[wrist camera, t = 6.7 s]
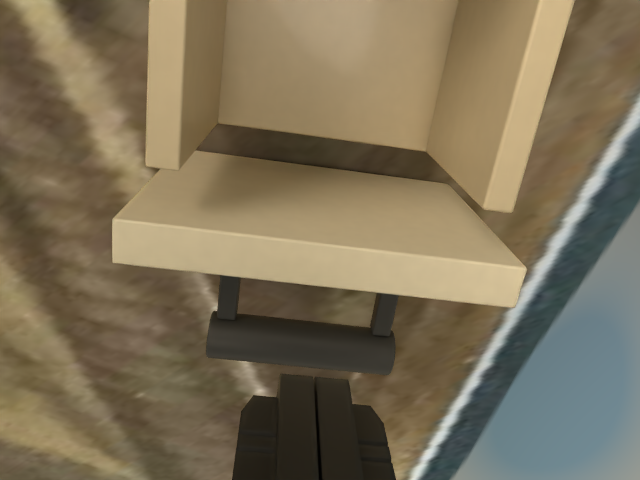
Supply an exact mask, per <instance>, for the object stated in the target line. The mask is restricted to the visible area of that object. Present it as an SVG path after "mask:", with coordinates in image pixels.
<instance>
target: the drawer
mask: <svg viewBox="0 0 640 480" xmlns="http://www.w3.org/2000/svg"><path fill="white" fill-rule="evenodd" d="M574 1H575V0H149V31H148V74H147V117H146V159H145V164H146V166H147V167H152V168H160V170H159V171H158V172H157V173H156V174H155V175H154V176H153V177H152V178H151V179H150V180H149V181H148V182H147V184H146V185H145V186H144V187H143V188H142V189H141V190H140V191H139V192H138V193H137V194H136V195H135V196H134V197H133V198H132V199H131V200H130V201H129V202H128V203H127V204H126V206H125V207H124V208H123V209H122V210H121V211H120V212H119V213H118V214H117V215H116V216H115V217H114V218H113V220H112V261H113V263H117V264H126V265H135V266H144V267H153V268H162V269H171V270H180V271H189V272H197V273H206V274H215V275H220V285H219V297H218V309H217V311H213V313H212V315H211V319H210V324H209V329H208V336H207V346H206V355H207V357H208V358H217V359H227V360H237V361H247V362H257V363H267V364H278V365H288V366H298V367H308V368H318V369H328V370H338V371H348V372H358V373H369V374H379V375H389V374H390V373H391V371H392V368H393V365H394V360H395V336H394V333H393V331H392V330H391V328H392V324H393V319H394V315H395V310H396V306H397V301H398V297H399V295H402V296H411V297H420V298H429V299H437V300H446V301H455V302H464V303H473V304H482V305H491V306H500V307H509V308H514V307H515V306H516V303H517V300H518V296H519V293H520V290H521V287H522V284H523V281H524V277H525V274H526V271H527V268H526V267H525V266H524V265H523V264H522V263H521V261H520V260H519V259H518V258H517V257H516V256H515V255H514V254H513V253H512V252H511V251H510V250H509V249H508V248H507V246H506V245H505V244H504V243H503V242H502V241H501V240H500V239H499V238H498V237H497V236H496V235H495V234H494V233H493V231H492V230H491V229H490V228H489V227H488V226H487V225H486V224H485V223H484V222H483V221H482V220H481V219H480V217H479V216H478V215H477V214H476V213H475V212H474V211H473V210H472V209H471V208H470V207H469V206H468V205H467V204H466V202H465V201H464V200H463V199H462V198H461V197H460V196H459V195H458V194H457V193H456V192H455V191H454V190H453V189H452V187H451V186H450V185H449V184H445V183H437V182H430V181H422V180H414V179H407V178H399V177H392V176H384V175H377V174H369V173H361V172H354V171H346V170H339V169H331V168H324V167H316V166H308V165H301V164H293V163H286V162H278V161H271V160H263V159H256V158H248V157H240V156H233V155H225V154H218V153H210V152H203V151H195V150H196V149H197V148H198V147H199V145H200V144H201V143H202V142H203V140H204V139H205V138H206V137H207V136H208V134H209V133H210V132H211V131H212V129H213V128H214V127H215V126H216V125H217V123H220V124H227V125H234V126H242V127H249V128H256V129H263V130H271V131H278V132H285V133H293V134H300V135H307V136H315V137H322V138H329V139H336V140H344V141H351V142H358V143H366V144H373V145H380V146H387V147H395V148H402V149H409V150H417V151H424V152H427V153H428V154H429V155H430V156H431V157H432V158H433V159H434V160H435V161H436V162H437V163H438V164H439V165H440V166H441V167H442V168H443V169H444V170H445V171H446V172H447V173H448V174H449V175H450V176H451V177H452V178H453V179H454V180H455V181H456V182H457V183H458V184H459V185H460V186H461V187H462V188H463V189H464V190H465V191H466V192H467V193H468V194H469V195H470V196H471V197H472V198H473V199H474V200H475V201H476V202H477V203H478V204H479V205H480V206H481V207H482V208H483V209H484V210H489V211H497V212H505V213H512V212H513V209H514V206H515V202H516V199H517V196H518V192H519V189H520V185H521V182H522V179H523V175H524V172H525V168H526V165H527V162H528V158H529V155H530V151H531V148H532V144H533V141H534V138H535V134H536V131H537V127H538V124H539V121H540V117H541V114H542V110H543V107H544V103H545V100H546V97H547V93H548V90H549V86H550V83H551V80H552V76H553V73H554V69H555V66H556V63H557V59H558V56H559V52H560V49H561V45H562V42H563V39H564V35H565V32H566V28H567V25H568V22H569V18H570V15H571V11H572V8H573V5H574ZM241 277H242V278H251V279H260V280H269V281H277V282H286V283H295V284H304V285H313V286H322V287H331V288H340V289H349V290H357V291H366V292H375V293H377V295H376V300H375V305H374V309H373V314H372V319H371V324H370V326H371V328H369V327H359V326H350V325H341V324H331V323H322V322H312V321H303V320H294V319H284V318H275V317H266V316H256V315H247V314H237V311H238V301H239V291H240V280H241Z"/></svg>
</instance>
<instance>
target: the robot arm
mask: <svg viewBox="0 0 640 480" xmlns="http://www.w3.org/2000/svg"><path fill="white" fill-rule="evenodd" d="M232 480H396V478H395V473H394V469H393V464H392V463H391V455H390V451H389V447H388V442H387V437H386V433H385V428H384V423H383V422H382V421H381V419H380V418H379V417H378V415H377V414H376V413H375V411H374V410H373V409H372V407H371V406H367V405H356V404H352V398H351V392H350V385H349V381H348V380H345V379H334V378H324V377H315V378H314V379H313V377H312V376H301V375H291V374H280V376H279V382H278V389H277V396H276V397H266V396H255V395H253V397H252V398H251V399H250V401H249V402H248V403H247V405H246V406H245V407H244V408H243V410H242V411H241V418H240V425H239V433H238V440H237V448H236V455H235V462H234V469H233V477H232Z"/></svg>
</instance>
